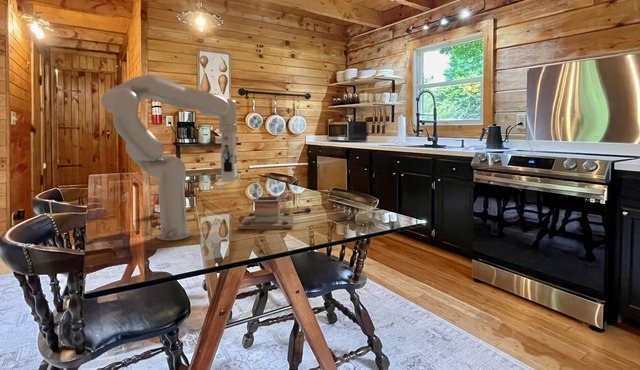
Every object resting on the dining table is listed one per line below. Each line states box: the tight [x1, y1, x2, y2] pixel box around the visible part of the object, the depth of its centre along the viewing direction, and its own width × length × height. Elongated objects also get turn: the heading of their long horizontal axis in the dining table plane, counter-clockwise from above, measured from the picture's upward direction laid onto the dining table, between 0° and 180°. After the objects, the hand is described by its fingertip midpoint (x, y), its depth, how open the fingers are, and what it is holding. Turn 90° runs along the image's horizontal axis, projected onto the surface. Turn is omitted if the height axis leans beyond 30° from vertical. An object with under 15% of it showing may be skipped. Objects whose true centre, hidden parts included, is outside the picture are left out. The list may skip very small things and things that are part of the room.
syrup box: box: [219, 147, 239, 182], centre depth 171 cm, size 6×6×14 cm
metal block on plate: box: [238, 196, 294, 230], centre depth 174 cm, size 22×22×11 cm
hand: (229, 170), depth 172 cm, fingers closed on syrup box, 5 cm apart
